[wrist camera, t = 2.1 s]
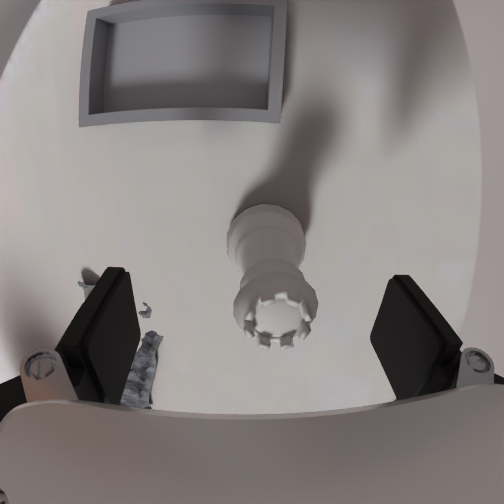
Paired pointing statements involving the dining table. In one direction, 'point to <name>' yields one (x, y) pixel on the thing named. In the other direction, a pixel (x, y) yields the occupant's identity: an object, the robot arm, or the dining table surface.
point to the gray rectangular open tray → (183, 61)
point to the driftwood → (138, 365)
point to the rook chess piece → (271, 276)
